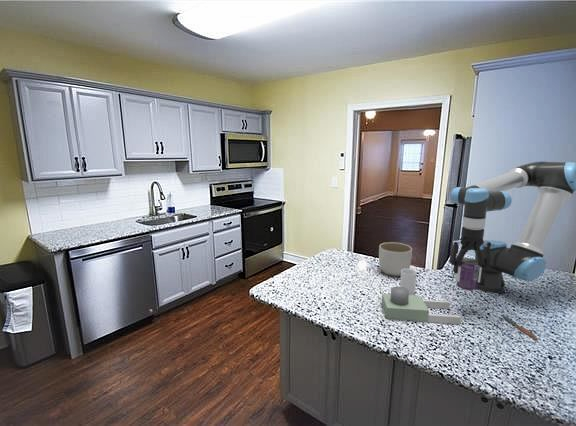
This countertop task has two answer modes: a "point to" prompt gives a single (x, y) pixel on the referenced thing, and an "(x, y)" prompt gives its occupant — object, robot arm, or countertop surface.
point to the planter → (394, 257)
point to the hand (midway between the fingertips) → (467, 280)
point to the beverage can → (468, 274)
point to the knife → (521, 328)
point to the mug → (408, 280)
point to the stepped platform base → (414, 307)
